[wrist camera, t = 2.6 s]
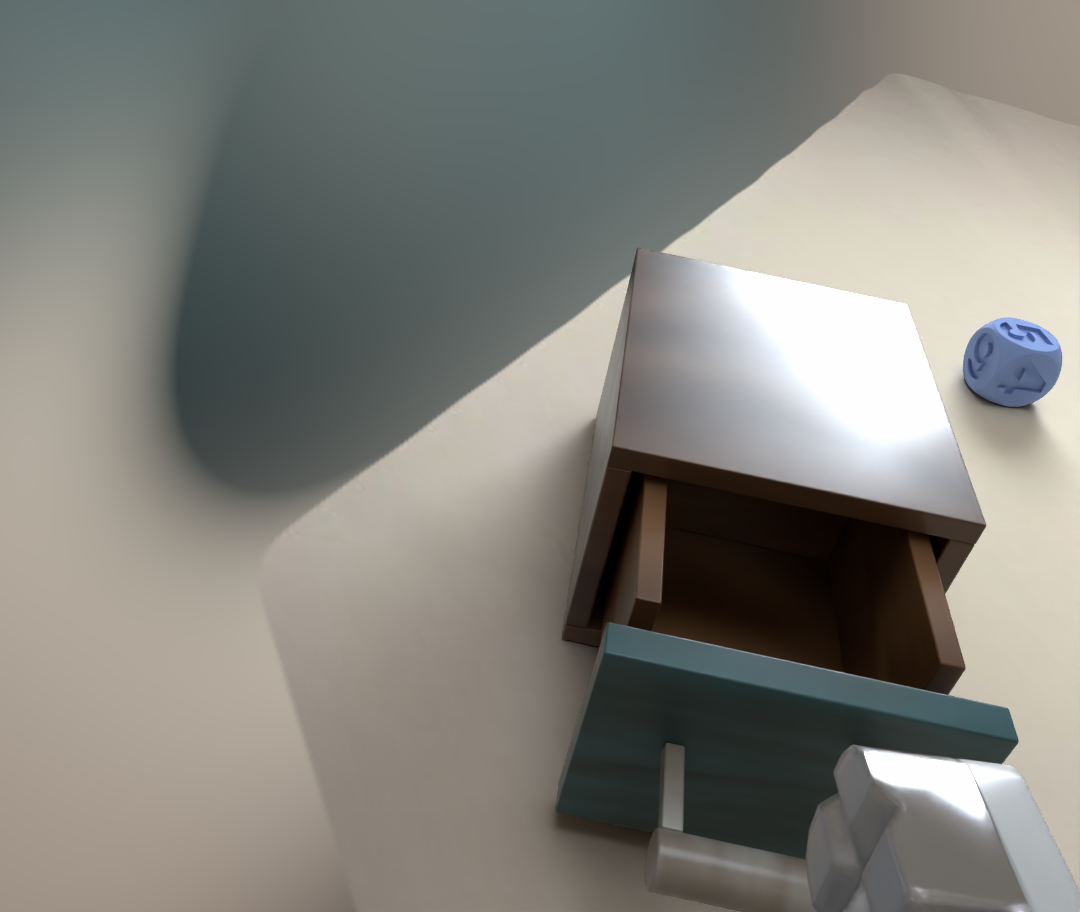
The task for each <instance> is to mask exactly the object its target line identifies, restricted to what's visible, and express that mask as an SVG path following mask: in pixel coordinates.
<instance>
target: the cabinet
mask: <svg viewBox="0 0 1080 912" xmlns="http://www.w3.org/2000/svg"><path fill="white" fill-rule="evenodd" d="M632 471H634V472H639V473H643V474H648V475H653V476H658V477H662V478H667V479H672V480H676V481H681V482H686V483H690V484H695V485H700V486H704V487H709V488H714V489H718V490H723V491H728V492H732V493H737V494H742V495H747V496H751V497H756V498H761V499H765V500H770V501H775V502H779V503H784V504H789V505H793V506H798V507H803V508H807V509H812V510H817V511H821V512H826V513H831V514H836V515H840V516H845V517H850V518H854V519H859V520H864V521H868V522H873V523H878V524H882V525H887V526H892V527H896V528H901V529H906V530H910V531H915V532H920V533H925V534H928V536H929V539H930V543H931V546H932V550H933V554H934V557H935V561H936V564H937V568H938V571H939V575H940V579H941V582H942V586H943V589H944V593H946V592H947V590H948V588H949V587H950V585H951V583H952V582H953V580H954V578H955V577H956V575H957V573H958V572H959V570H960V568H961V567H962V565H963V563H964V562H965V560H966V558H967V557H968V555H969V553H970V552H971V550H972V548H973V547H974V544H976V542H977V541H978V539H979V537H980V536H981V534H982V532H983V531H984V529H985V527H986V523H985V520H984V517H983V515H982V512H981V509H980V506H979V503H978V501H977V498H976V495H975V492H974V489H973V487H972V484H971V481H970V478H969V475H968V473H967V470H966V467H965V464H964V461H963V459H962V456H961V453H960V450H959V447H958V445H957V442H956V439H955V436H954V433H953V431H952V428H951V425H950V422H949V419H948V417H947V414H946V411H945V408H944V405H943V403H942V400H941V397H940V394H939V391H938V389H937V386H936V383H935V380H934V377H933V375H932V372H931V369H930V366H929V363H928V361H927V358H926V355H925V352H924V349H923V347H922V344H921V341H920V338H919V335H918V333H917V330H916V327H915V324H914V321H913V319H912V316H911V313H910V310H909V307H908V305H907V304H903V303H898V302H893V301H888V300H884V299H879V298H874V297H870V296H865V295H860V294H855V293H851V292H846V291H841V290H836V289H832V288H827V287H822V286H817V285H813V284H808V283H803V282H798V281H794V280H789V279H784V278H780V277H775V276H770V275H765V274H761V273H756V272H751V271H746V270H742V269H737V268H732V267H727V266H723V265H718V264H713V263H709V262H704V261H699V260H694V259H690V258H685V257H680V256H675V255H671V254H666V253H661V252H656V251H652V250H647V249H642V248H637V251H636V256H635V259H634V264H633V268H632V272H631V276H630V280H629V284H628V288H627V293H626V297H625V301H624V305H623V309H622V313H621V317H620V321H619V325H618V329H617V334H616V338H615V342H614V346H613V350H612V354H611V358H610V362H609V366H608V371H607V375H606V379H605V383H604V387H603V391H602V395H601V399H600V404H599V407H598V412H597V416H596V422H595V428H594V435H593V441H592V447H591V454H590V460H589V466H588V473H587V479H586V485H585V492H584V498H583V504H582V511H581V517H580V524H579V530H578V536H577V543H576V549H575V555H574V562H573V568H572V574H571V581H570V587H569V593H568V600H567V606H566V612H565V619H564V625H563V632H562V639H565V640H570V641H575V642H579V643H584V644H589V645H593V646H598V647H600V642H601V633H602V625H603V616H604V607H605V598H606V589H607V581H608V572H609V563H610V554H611V545H612V540H613V537H614V533H615V530H616V526H617V523H618V519H619V516H620V512H621V509H622V505H623V502H624V498H625V495H626V491H627V488H628V484H629V480H630V477H631V473H632Z"/></svg>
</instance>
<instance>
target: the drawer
mask: <svg viewBox="0 0 1080 912" xmlns="http://www.w3.org/2000/svg"><path fill="white" fill-rule="evenodd" d="M964 670H965V664H964V661H963V657H962V653H961V650H960V646H959V643H958V639H957V636H956V632H955V628H954V625H953V621H952V618H951V614H950V611H949V607H948V603H947V600H946V596H945V593H944V589H943V586H942V582H941V579H940V575H939V571H938V568H937V564H936V561H935V557H934V554H933V550H932V546H931V543H930V539H929V536H928V534H925V533H920V532H915V531H910V530H906V529H901V528H896V527H892V526H887V525H882V524H878V523H873V522H868V521H864V520H859V519H854V518H850V517H845V516H840V515H836V514H831V513H826V512H821V511H817V510H812V509H807V508H803V507H798V506H793V505H789V504H784V503H779V502H775V501H770V500H765V499H761V498H756V497H751V496H747V495H742V494H737V493H732V492H728V491H723V490H718V489H714V488H709V487H704V486H700V485H695V484H690V483H686V482H681V481H676V480H672V479H667V478H662V477H658V476H653V475H648V474H643V473H639V472H634V471H632V473H631V477H630V480H629V484H628V488H627V491H626V495H625V498H624V502H623V505H622V509H621V512H620V516H619V519H618V523H617V526H616V530H615V533H614V537H613V540H612V545H611V554H610V563H609V572H608V581H607V589H606V598H605V607H604V616H603V625H602V633H601V642H600V647H599V650H598V654H597V657H596V660H595V664H594V667H593V670H592V674H591V677H590V680H589V684H588V687H587V690H586V694H585V697H584V700H583V704H582V707H581V710H580V714H579V717H578V720H577V724H576V727H575V730H574V734H573V737H572V740H571V744H570V747H569V750H568V754H567V757H566V760H565V764H564V767H563V770H562V774H561V777H560V780H559V786H558V794H557V801H556V808H555V810H556V812H559V813H564V814H568V815H573V816H578V817H582V818H587V819H591V820H596V821H601V822H605V823H610V824H614V825H619V826H624V827H628V828H633V829H638V830H642V831H647V832H651V833H653V834H652V836H651V839H650V843H649V847H648V852H647V858H646V866H645V885H646V889H647V890H648V891H650V892H654V893H659V894H663V895H668V896H673V897H677V898H682V899H686V900H691V901H695V902H700V903H705V904H709V905H714V906H718V907H723V908H728V909H732V910H737V911H741V912H817V911H816V909H815V908H814V907H813V906H812V901H811V896H810V891H809V887H808V882H807V869H806V850H807V842H808V834H809V827H810V825H811V822H812V820H813V817H814V815H815V812H816V810H817V807H818V805H819V804H820V803H821V802H823V801H825V800H826V799H828V798H830V797H831V796H833V795H835V794H836V793H838V788H837V784H836V781H835V777H834V773H833V771H834V769H835V767H836V765H837V763H838V761H839V759H840V756H841V754H842V753H843V752H844V751H845V750H846V749H847V748H849V747H850V746H851V745H860V746H867V747H875V748H882V749H890V750H897V751H905V752H912V753H920V754H928V755H935V756H943V757H950V758H952V759H966V760H974V761H981V762H989V763H996V764H1002V763H1003V762H1004V761H1005V759H1006V758H1007V757H1008V756H1009V754H1010V753H1011V752H1012V750H1013V749H1014V748H1015V746H1016V745H1017V744H1018V737H1017V734H1016V731H1015V728H1014V725H1013V721H1012V718H1011V715H1010V712H1009V709H1008V708H1005V707H1001V706H996V705H991V704H987V703H982V702H977V701H973V700H968V699H964V698H959V697H954V696H950V695H949V693H950V692H951V690H952V689H953V687H954V686H955V684H956V682H957V681H958V679H959V678H960V676H961V675H962V673H963V672H964Z"/></svg>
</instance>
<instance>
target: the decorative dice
mask: <svg viewBox="0 0 1080 912" xmlns="http://www.w3.org/2000/svg"><path fill="white" fill-rule="evenodd" d="M1061 366H1062V352H1061V347H1060V345H1059V343H1058V341H1057V339H1056V338H1055V337H1054V336H1053V335H1052V334H1051V333H1050V332H1048V331H1047V330H1045V329H1043V328H1042V327H1040V326H1038V325H1035V324H1033V323H1030V322H1028V321H1024V320H1021V319H1016V318H1000V319H997V320H994V321H992V322H990V323H988V324H986V325H984V326H983V327H981V328H980V329H979V330H978V331H977V332H976V333H975V334H974V335H973V336H972V338H971V339H970V341H969V343H968V345H967V348H966V351H965V355H964V361H963V372H964V377H965V380H966V382H967V384H968V386H969V387H970V388H971V389H972V390H973V391H974V392H975V393H976V394H978V395H979V396H981V397H983V398H984V399H986V400H988V401H991V402H993V403H996V404H999V405H1003V406H1008V407H1019V406H1024V405H1028V404H1030V403H1033V402H1035V401H1037V400H1039V399H1040V398H1042V397H1043V396H1044V395H1046V394H1047V393H1048V392H1049V391H1050V390H1051V389H1052V388H1053V386H1054V385H1055V383H1056V381H1057V379H1058V377H1059V374H1060V371H1061Z"/></svg>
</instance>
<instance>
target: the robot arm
mask: <svg viewBox="0 0 1080 912" xmlns="http://www.w3.org/2000/svg"><path fill="white" fill-rule="evenodd" d="M833 773H834V777H835V781H836V784H837V788H838V793H836V794H835V795H833V796H831V797H830V798H828V799H826V800H825V801H823V802H821V803H820V804H819V805H818V807H817V810H816V812H815V815H814V817H813V820H812V822H811V825H810V827H809V834H808V842H807V850H806V869H807V882H808V887H809V891H810V896H811V901H812V906H813V907H814V908H815V909H816V911H817V912H1080V890H1079V888H1078V886H1077V884H1076V882H1075V880H1074V878H1073V876H1072V874H1071V872H1070V870H1069V868H1068V866H1067V864H1066V862H1065V860H1064V858H1063V856H1062V854H1061V852H1060V850H1059V848H1058V846H1057V844H1056V842H1055V840H1054V838H1053V836H1052V834H1051V832H1050V830H1049V828H1048V826H1047V824H1046V822H1045V820H1044V818H1043V816H1042V814H1041V812H1040V810H1039V808H1038V806H1037V804H1036V802H1035V800H1034V798H1033V796H1032V794H1031V792H1030V790H1029V788H1028V786H1027V784H1026V782H1025V779H1024V778H1023V776H1022V775H1021V774H1020V773H1019V772H1018V771H1017V770H1016V769H1015V768H1014V767H1012V766H1011V765H1004V764H996V763H989V762H981V761H974V760H966V759H952V758H950V757H943V756H935V755H928V754H920V753H912V752H905V751H897V750H890V749H882V748H875V747H867V746H860V745H851V746H850V747H849V748H847V749H846V750H845V751H844V752H843V753H842V754H841V756H840V759H839V761H838V763H837V765H836V767H835V769H834V771H833Z"/></svg>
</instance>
